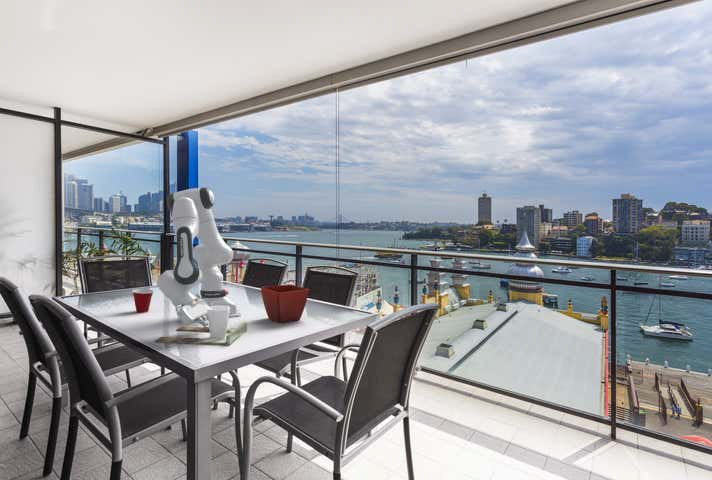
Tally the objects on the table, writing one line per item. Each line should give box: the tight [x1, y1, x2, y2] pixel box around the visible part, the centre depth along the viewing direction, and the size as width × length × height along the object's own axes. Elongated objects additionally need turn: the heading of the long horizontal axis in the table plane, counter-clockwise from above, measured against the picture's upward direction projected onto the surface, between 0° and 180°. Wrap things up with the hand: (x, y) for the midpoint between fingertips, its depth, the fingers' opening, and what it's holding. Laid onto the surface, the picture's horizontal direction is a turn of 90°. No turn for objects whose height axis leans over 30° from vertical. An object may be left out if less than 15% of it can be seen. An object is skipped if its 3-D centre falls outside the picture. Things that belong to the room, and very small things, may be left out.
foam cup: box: [207, 306, 230, 339], centre depth 165 cm, size 10×9×13 cm
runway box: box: [154, 321, 248, 346], centre depth 166 cm, size 32×22×4 cm
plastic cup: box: [131, 288, 155, 314], centre depth 207 cm, size 11×11×12 cm
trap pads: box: [182, 326, 210, 342], centre depth 166 cm, size 6×22×1 cm, turn 178°
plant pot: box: [260, 284, 310, 324], centre depth 201 cm, size 19×19×17 cm
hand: (207, 325), depth 166 cm, fingers closed, pressing on foam cup
